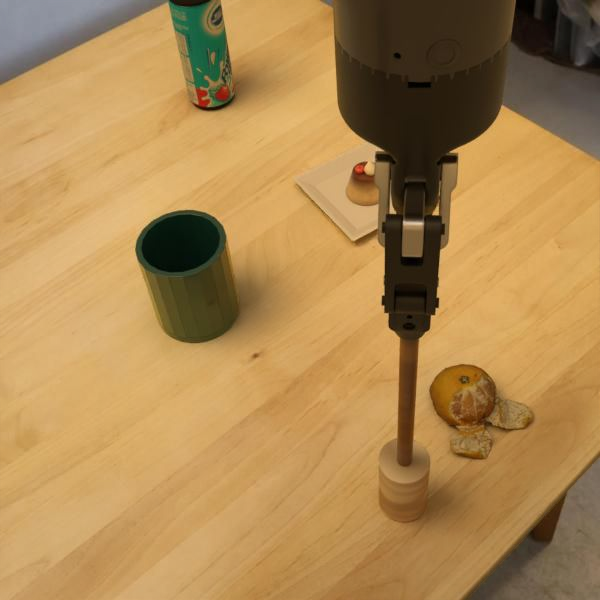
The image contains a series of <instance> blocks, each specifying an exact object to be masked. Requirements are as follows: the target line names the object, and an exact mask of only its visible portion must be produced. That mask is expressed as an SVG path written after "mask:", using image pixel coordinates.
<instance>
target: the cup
mask: <svg viewBox="0 0 600 600" xmlns="http://www.w3.org/2000/svg"><path fill="white" fill-rule="evenodd" d="M134 251H135V252H134V253H135V256H136V260H137V263H138V266H139V270H140V271H141V275H142V278H143V281H144V283H145V286H146V289H147V292H148V295H149V299H150V301H151V304H152V307H153V310H154V313H155V316H156V319H157V322H158V324H159V326H160V328H161V329H162V331H163V332H164V333H165V334H166V335H168V336H169V337H170V338H172V339H174V340H176V341H180V342H183V343H190V344H192V343H193V344H196V343H204V342H208V341H211V340H214V339H216V338H218V337H220V336H221V335H224V334H225V333H226V332H228V330H229V329H230V328H231V327H232V326H233V325H234V324H235V322H236V321H237V319H238V316H239V313H240V310H241V302H240V295H239V289H238V284H237V280H236V274H235V270H234V266H233V260H232V255H231V250H230V246H229V241H228V237H227V233H226V230H225V228H224V225H223V224H222V223H221V222H220V221H219V219H217V217H215V216H213V215H211V214H209V213H207V212H206V211H205V212H204V211H201V210H195V209H179V210H174V211H171V212H167V213H163V214H161V215H160V216H158V217H157V218H153V219H152V220H151V221H150V222H149V223H148V224H147V225H145V226H144V227H143V229H142V230H141V231H140V233H139V235H138V237H137V238H136V242H135V247H134Z"/></svg>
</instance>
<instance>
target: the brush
mask: <svg viewBox="0 0 600 600" xmlns="http://www.w3.org/2000/svg"><path fill="white" fill-rule="evenodd" d="M394 334H395V335H396V336H397V337H398V338H399V357H398V358H399V361H398V393H397V394H398V395H397V397H398V398H397V433H396V438H393V439H391V440H389V441H388V442H386V443H385V444H384V445H383V446H382V448H380V449H381V450H380V451H379V454H378V503H379V504H378V505H379V507H380V510H381V511H382V513H383V514H384V515H385V516H386V517H387V518H389V519H391V520H393V521H394V522H395V521H396V522H398V523H399V522H400V523H409V522H412V521H415V520H417V519H418V518H419V517H421V516H422V515H423V513H424V512H425V510H426V507H427V503H428V493H429V481H430V470H431V455H430V452H429V451H428V449H427V447H426V446H425V445H424V444H423V443H421V442H420V441H418V440H416V439H414V434H415V417H416V401H417V381H418V365H419V349H420V348H419V347H420V339H421V338H422V337H423V336H424V335H425V334H426V332H424V333H422V334H416V333H396V332H395V331H394Z"/></svg>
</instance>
